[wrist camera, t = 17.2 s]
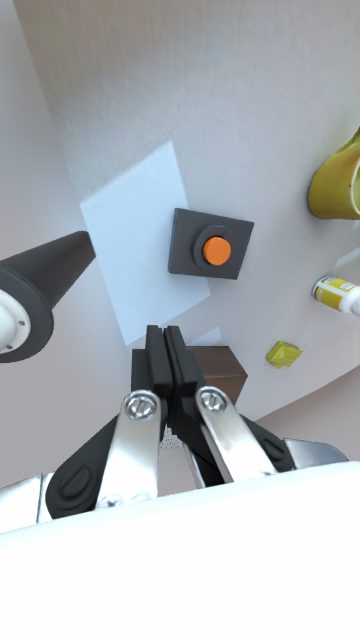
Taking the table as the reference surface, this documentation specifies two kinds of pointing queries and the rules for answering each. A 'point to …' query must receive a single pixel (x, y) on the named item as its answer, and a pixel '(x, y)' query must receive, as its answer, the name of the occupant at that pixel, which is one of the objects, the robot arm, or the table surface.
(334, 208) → the mug
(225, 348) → the cabinet
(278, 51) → the table surface
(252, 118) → the table surface
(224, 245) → the button
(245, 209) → the table surface
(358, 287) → the supplement bottle
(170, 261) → the control block
